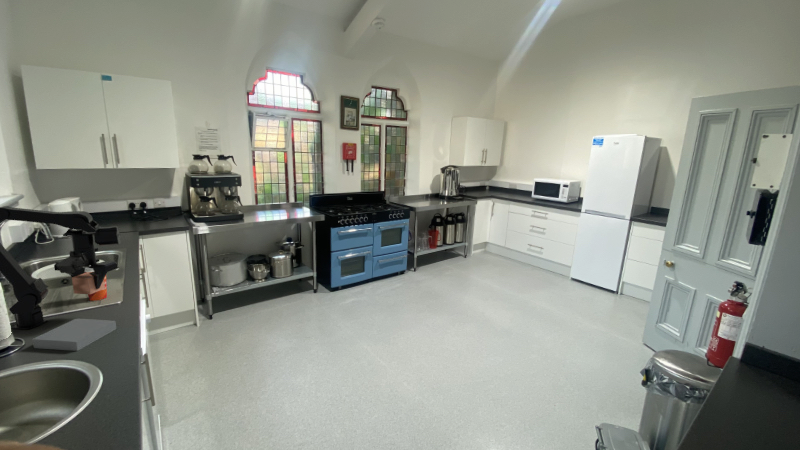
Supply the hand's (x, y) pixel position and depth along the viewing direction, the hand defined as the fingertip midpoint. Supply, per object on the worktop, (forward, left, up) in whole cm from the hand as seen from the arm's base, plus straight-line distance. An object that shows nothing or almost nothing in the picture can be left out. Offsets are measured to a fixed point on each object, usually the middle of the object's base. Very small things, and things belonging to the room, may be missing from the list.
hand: (89, 288), depth 126 cm
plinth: (+9, -15, -11) cm, 21 cm away
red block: (0, 0, -1) cm, 1 cm away
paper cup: (-12, +15, -11) cm, 22 cm away
